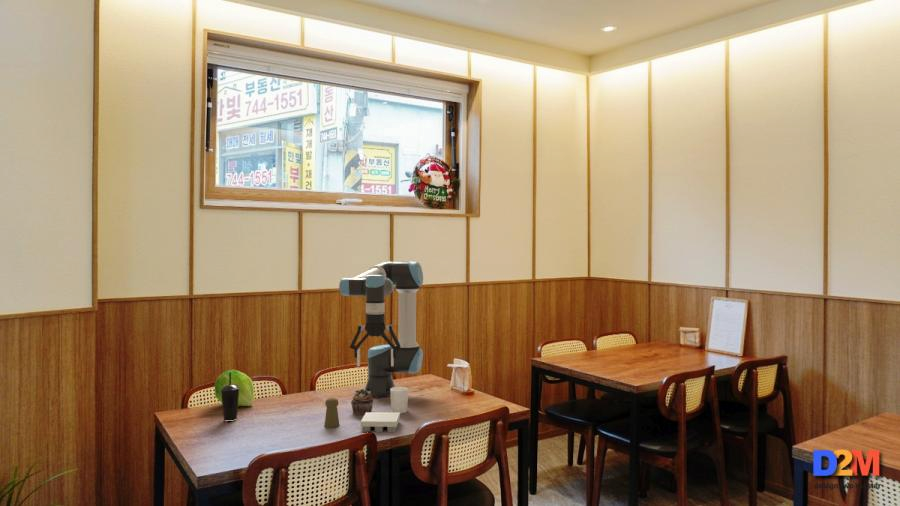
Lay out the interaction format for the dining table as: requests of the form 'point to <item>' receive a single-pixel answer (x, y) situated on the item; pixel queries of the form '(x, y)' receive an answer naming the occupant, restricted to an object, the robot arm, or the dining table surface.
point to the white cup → (399, 399)
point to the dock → (380, 421)
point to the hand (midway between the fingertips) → (375, 365)
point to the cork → (331, 413)
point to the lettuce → (240, 380)
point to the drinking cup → (230, 400)
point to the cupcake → (362, 402)
